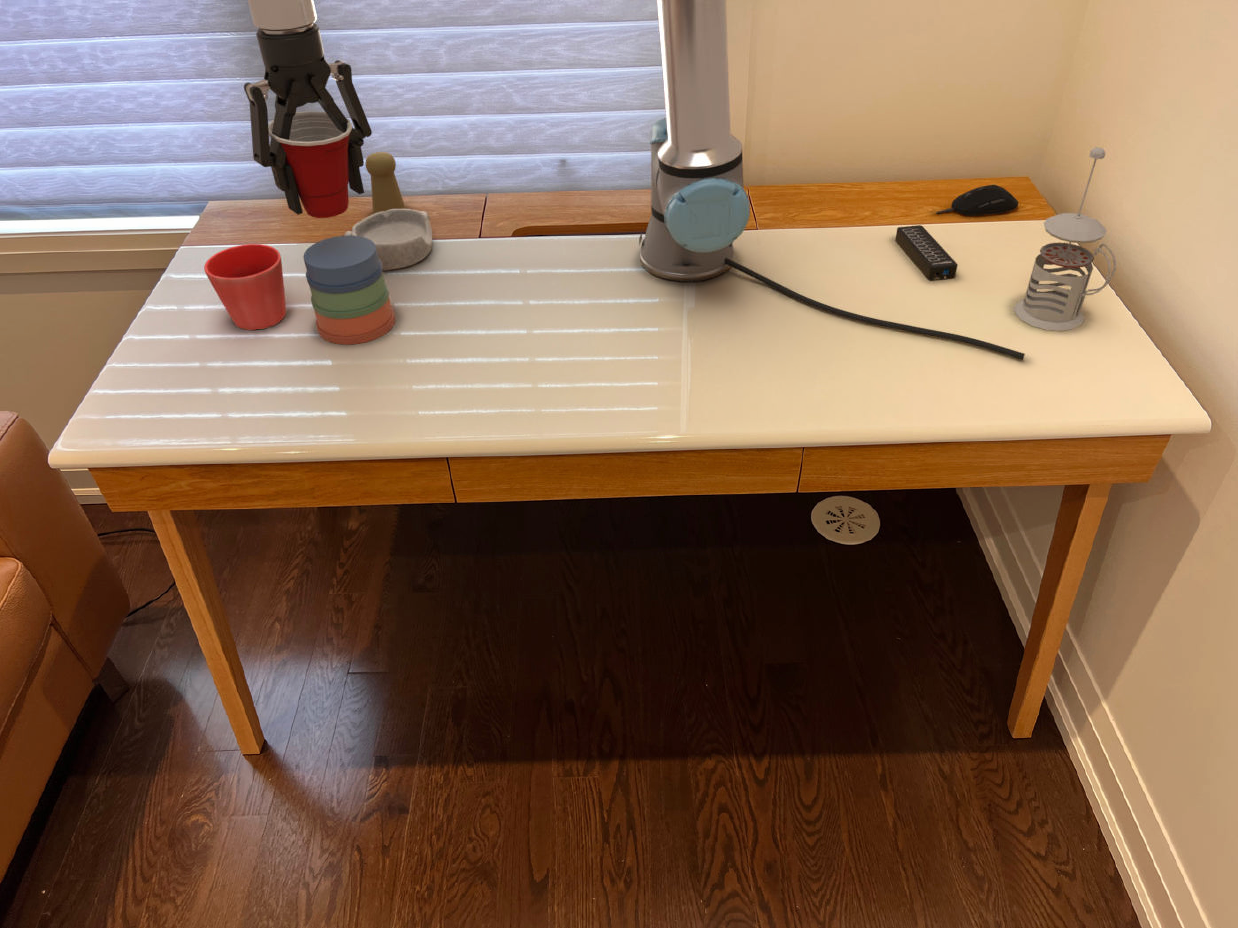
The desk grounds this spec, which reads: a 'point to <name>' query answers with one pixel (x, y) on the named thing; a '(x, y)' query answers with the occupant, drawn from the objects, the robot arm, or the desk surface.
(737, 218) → the robot arm
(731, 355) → the desk surface
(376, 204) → the wooden peg doll
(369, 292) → the cup stack
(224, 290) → the flower pot
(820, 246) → the desk surface
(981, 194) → the gaming mouse
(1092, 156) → the french press
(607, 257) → the desk surface
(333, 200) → the plastic cup
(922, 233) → the multiport hub
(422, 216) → the dish
